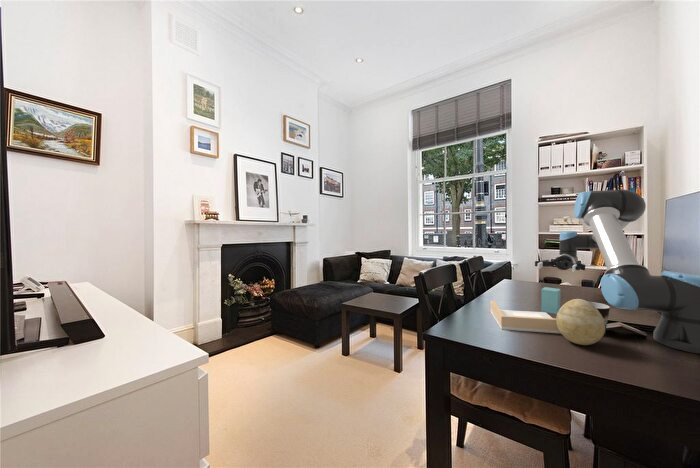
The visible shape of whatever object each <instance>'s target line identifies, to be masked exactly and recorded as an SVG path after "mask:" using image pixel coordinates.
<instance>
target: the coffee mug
mask: <svg viewBox="0 0 700 468" xmlns="http://www.w3.org/2000/svg"><path fill="white" fill-rule="evenodd" d="M588 302H589V303H591V304H592V305H593V306H595V307H596V309H597V310H598V311H599V312H600V314H601V315H602V317H603V319H604V322H605V332H604V335H606V331H607V325H608V319H609V314H610V310H611V309H610V307H611V306H609V305H607V304H605V303H600V302H594V301H588ZM604 335H603V336H604Z"/></svg>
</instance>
